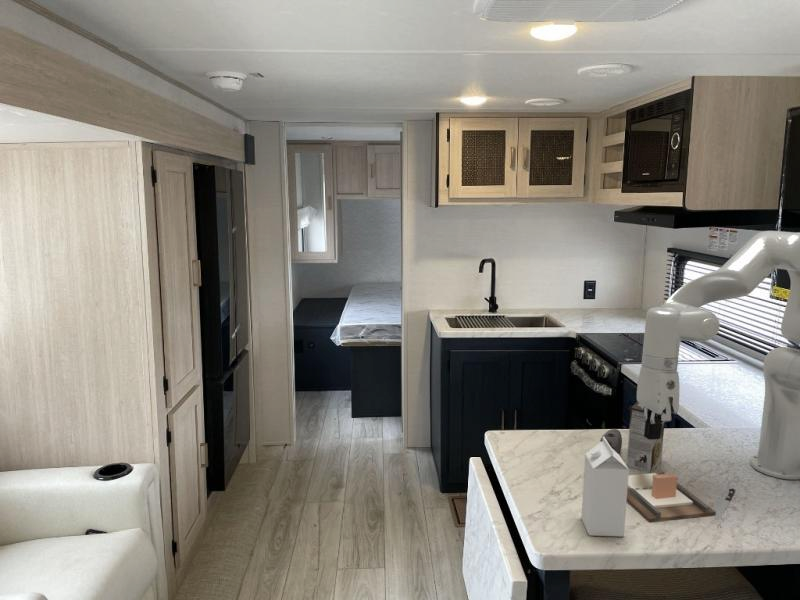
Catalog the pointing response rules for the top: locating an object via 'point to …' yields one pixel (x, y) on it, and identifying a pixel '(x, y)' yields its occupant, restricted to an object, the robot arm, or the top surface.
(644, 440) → the coffee box
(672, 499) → the ticket stub
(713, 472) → the top surface
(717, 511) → the chef's knife
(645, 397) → the robot arm
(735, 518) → the top surface
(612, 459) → the milk carton
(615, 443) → the perforated stone tool
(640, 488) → the ticket board
